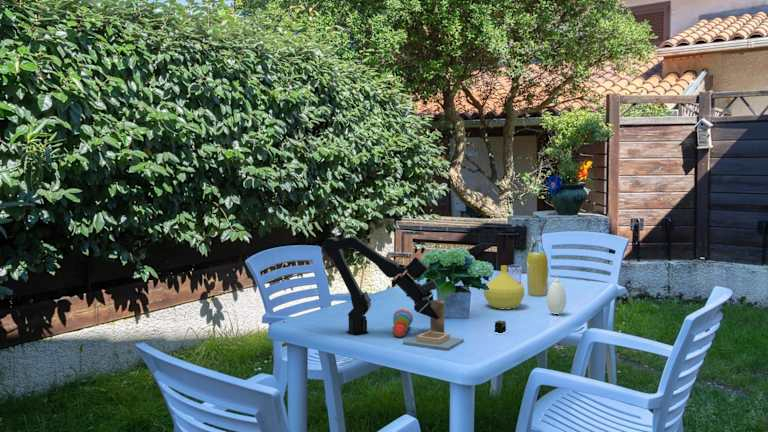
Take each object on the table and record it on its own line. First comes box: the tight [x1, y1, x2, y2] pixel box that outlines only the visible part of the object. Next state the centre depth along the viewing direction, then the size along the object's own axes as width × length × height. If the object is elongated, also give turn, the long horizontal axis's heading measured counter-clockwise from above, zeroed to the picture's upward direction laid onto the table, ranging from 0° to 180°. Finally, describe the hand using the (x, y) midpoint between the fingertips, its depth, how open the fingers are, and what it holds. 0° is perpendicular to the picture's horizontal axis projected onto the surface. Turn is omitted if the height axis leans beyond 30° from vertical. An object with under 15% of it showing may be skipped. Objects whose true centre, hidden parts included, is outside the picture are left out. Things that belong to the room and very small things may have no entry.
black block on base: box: [493, 320, 507, 333], centre depth 263 cm, size 12×7×5 cm, turn 147°
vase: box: [483, 264, 525, 309], centre depth 309 cm, size 18×18×19 cm
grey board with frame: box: [402, 330, 465, 351], centre depth 247 cm, size 18×14×3 cm
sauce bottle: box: [546, 273, 567, 313], centre depth 292 cm, size 8×8×18 cm
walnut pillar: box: [429, 299, 445, 333], centre depth 258 cm, size 5×5×13 cm
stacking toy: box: [392, 307, 414, 338], centre depth 263 cm, size 8×8×19 cm
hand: (439, 316), depth 258 cm, fingers open, 9 cm apart
